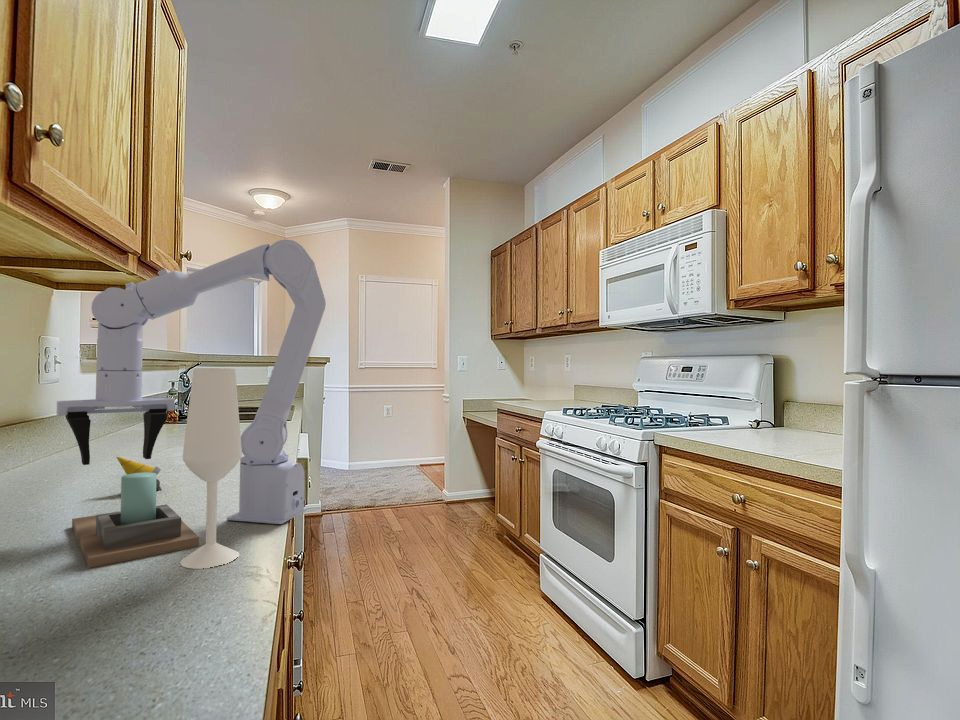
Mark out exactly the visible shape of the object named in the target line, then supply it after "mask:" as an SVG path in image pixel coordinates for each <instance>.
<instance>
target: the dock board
mask: <svg viewBox="0 0 960 720" xmlns="http://www.w3.org/2000/svg"><path fill="white" fill-rule="evenodd" d="M71 528H72V531H73V533H74V536H75V538H76V540H77V543H78V545H79V548H80V550H81V553H82V555H83V558H84V560H85V562H86V566H87V568H88V569H90V568H98V567H100V566H106V565H110V564H115V563H116V564H117V563H120V562H121V563H122V562H125V561H130V560H131V561H132V560H137V559H141V558H145V557H146V558H147V557H151V556H156V555H161V554H166V553H171V552H176V551H181V550H185V549H190V548H194V547H199V546H200V536H199V535H197V534H196V533H195V532H194V530H192V529H191V528H190V527H189V526H188V525H187V524H186V523H185V522H184V521H183V520H182V517H181V516H180V515H179V514H178V513H177V512H176V511H175V510H173V509H172V508H171V507H170V506H169V505H168V504H162V505H156V520H150V521H144V522H137V523H131V524H125V525H121V510H119V511H113V512H106V513H101V514H100V513H99V514H96V515H89V516H82V517H75V518H72V521H71Z"/></svg>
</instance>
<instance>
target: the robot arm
mask: <svg viewBox="0 0 960 720" xmlns="http://www.w3.org/2000/svg"><path fill="white" fill-rule="evenodd" d="M270 275H272V278H274V280H276V282H277V283H278V284H279V285H280V286H281V287H282V288H283V289H285V290H286V291H287V294H288V296H289V297H290V299H291V301H292V303H293V304H294V309H293V312H292V314H291V317H290V321H289V324H287V329H286V332H285V333H284V334H285V335H284V336H283V337H284V338H283V340H282V343H281V346H280V347H279V351H278V354H277V357H276V360H275V363H274V366H273V369H272V372H271V375H270V377H269V380H268V383H267V384H266V385H267V386H266V388H265V391H264V394H263V397H262V400H261V402H260V404H259V407H258V409H257V411H256V414H255V416H254V419H253V420H252V422H251V423H250V424H249V425H248V426H247V427H246V428H245V429H244V430H243V431H242V433H241V434H240V435H241V447H242V455H243V456H241V458H240V460H239V497H238V498H239V501H238V505H239V506H238V507H239V508H238V511H237V512H234V513H232V514H230V515H228V516H226V521H235V522H247V523H248V522H249V523H259V524H260V523H261V524H262V523H263V524H273V525H283V524H284V523H287V522H288V521H290V520H292V519H294V518H296V517H297V516H298V515H301V514H302V513H304V512H306V511H307V507H305V483H306V482H305V480H306V477H305V474H306V473H305V469H304V466H303V465H302V464H301V463H299V462H295V461H292V460H290V459H289V454H287V453H286V451H285V450H284V445H285V444H286V442H287V440H288V429H287V427H288V426H287V421H288V418H289V416H290V413H291V408H292V405H293V403H294V399H295V396H296V393H297V391H298V388H299V385H300V382H301V380H302V379H301V378H302V377H303V374H304V370H305V368H306V364H307V362H308V359H309V357H310V353H311V351H312V348H313V344H314V342H315V339H316V336H317V333H318V329H319V327H320V324H321V322H322V319H323V316H324V314H325V313H324V312H325V310H326V299H325V297H326V296H325V295H324V291H323V288H322V284H321V281H320V278H319V275H318V270H317V267H316V264H315V261H314V260H313V258H312V257H311V256H310V254H309V253H308V252H307V250H306V248H305V247H304V246H303V245H302V244H300V243H299V242H297V241H295V240H293V239H279V240H278V241H275V242H273V243H272V244H271V245H270V243H266V244H261V245H259V246H256V247H254V248H251V249H248V250H246V251H243V252H240V253H238V254H236V255H234V256H231V257H229V258H226V259H224V260H221V261H218V262H216V263H214V264H211V265H209V266H206V267H204V268H202V269H199V270H196V271H194V272H192V273H184V272H182V271H179V270H176V269H175V270H172V271H170V270H168V269H165V268H164V269H161V270H159V271H157V276H155V277H151V278H149V279H145V280H142V281H140V282H137V283H135V282H128V283H125V289H123V288H120V287H116V286H115V287H108V288H106V289H104V290H103V291H101V292H100V293H98V294H97V295H95V297H94V298H93V300H92V302H91V308H90V309H91V313H92V316H93V317H94V319H95V320H96V321H97V322H98V323H97V339H96V367H95V369H96V374H95V375H96V376H95V377H96V380H95V398H93V399H74V400H57V401H56V415H57V416H65V419H66V421H67V423H68V425H69V427H70V429H71V430H72V432H73V435H74V437H75V440H76V442H77V446H78V448H79V451H80V457H81V464H82V465H83V466H87V465H91V456H90V455H91V453H90V434H91V433H90V431H91V421H92V420H91V419H90V414H114V413H115V414H116V413H117V414H118V413H140V412H142V413H143V412H144V413H143V414H142V415H143V430H144V431H143V433H144V434H143V444H142V445H143V447H142V458H144V460H150V459H152V455H153V450H154V447H155V445H156V441H157V439H158V436H159V434H160V432H161V430H162V428H163V427H164V425H165V423H166V421H167V419H168V417H169V413H168V412H174V411H175V404H176V403H175V402H176V399H175V398H173V397H169V398H167V397H160V398H159V397H157V398H156V397H155V398H154V397H153V398H151V397H147V398H145V397H143V395H142V393H143V392H142V389H143V358H144V357H143V356H144V355H143V351H144V341H143V340H144V339H143V337H144V336H143V334H144V331H143V330H144V326H146V324H147V323H148V321H149V320H155V319H157V318H160V317H161V318H162V317H164V316H166V315H169V314H171V313H174V312H177V311H181V310H182V309H185V308H188V307H191V306H193V305H194V304H195V303H196V300H197V297H198V296H199V295H200V294H201V293H202V294H203V293H205V292H208V291H211V290H214V289H218V288H220V287H224V286H227V285H230V284H233V283H236V282H239V281H242V280H245V279H255V280H260V281H261V280H262V281H266V282H270V281H271V280H270ZM113 407H114V408H113ZM118 407H119V408H118ZM120 407H123V408H120ZM124 407H131V408H124ZM107 408H108V409H107ZM88 414H89V415H88Z"/></svg>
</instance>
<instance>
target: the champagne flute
mask: <svg viewBox="0 0 960 720" xmlns="http://www.w3.org/2000/svg"><path fill="white" fill-rule="evenodd" d="M236 372H237V371H236V369H235V368H221V367H220V368H214V367H212V368H211V367H210V368H209V367H208V368H205V367H204V368H203V367H202V368H201V367H199V368H197V367H194V368H193V372H192V379H191V387H190V395H189V401H188V402H189V404H188V410H187V411H188V412H187V418H186V419H187V420H186V426H185V433H184V434H185V435H184V444H183V451H182V461H183V462H184V465H185V466H186V467H187V468H188V470H189V471H190V472H192V473H193V474H194V475H195V476H197V477H198V478H199V479H200V480H201V481H203V482H205V483H206V509H205V510H206V513H205V514H206V516H205V518H206V521H205V544H204V545H202V546H200V547H198V548H196V549H195V550H194V551H192V552H191V553H190V554H188V555H187V556H185V557H184V558H182V559H181V561H180V565H181V566H182V567H183V568H188V569H194V570H195V569H196V570H200V569H201V570H203V568H204V569H211V568H210V567H213V568H215V567H214V566H218V565H222V566H224V565H223V564H225V565H228V564H230V563H229V562H231V561H233V560H234V559H236V558H237V557H238V558H240V553H239V552H238V551H237V550H234V549H232V548H230V547H227V546H225V545H222V544H220V543H219V542H217V514H218V513H217V511H218V482H219V481H220V480H222V479H224V478H225V477H226V476H227V475H228V474H229V473H230V472H231V471H232V470H234V468H235V467H236V466H237V464H238V463H240V458H241V457H243V453H242V447H241V435H242V434H241V424H240V423H241V422H240V413H239V412H240V409H239V401H238V399H239V398H238V388H237V387H238V386H237V373H236ZM238 558H237V559H238ZM237 559H236V560H237ZM233 562H234V561H233ZM227 563H228V564H227ZM231 563H232V562H231ZM218 567H219V566H218Z"/></svg>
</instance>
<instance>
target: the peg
mask: <svg viewBox="0 0 960 720" xmlns="http://www.w3.org/2000/svg"><path fill="white" fill-rule="evenodd" d="M156 478H157V475H156V473H151V472H143V473H133V474H128V475H127V474H124V475H121V479H120V481H121V483H120V511H121V525H125V524H131V523H137V522H144V521H150V520H156V506H157V490H156Z"/></svg>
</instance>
